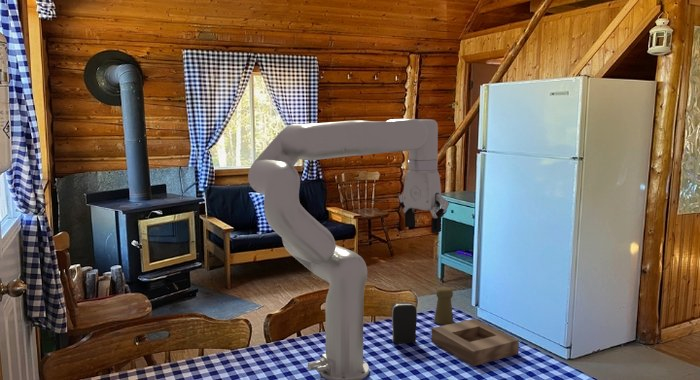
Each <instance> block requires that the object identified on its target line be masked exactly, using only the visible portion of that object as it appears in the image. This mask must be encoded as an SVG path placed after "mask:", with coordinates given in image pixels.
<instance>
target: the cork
mask: <svg viewBox="0 0 700 380" xmlns="http://www.w3.org/2000/svg"><path fill="white" fill-rule="evenodd" d="M435 293H436V294H435V295H436V298H437V301H436V308H435V314H434V319H433V320H434V323H435V324H438V325H440V326H444V325H449V324H453V323H454V315H453V307H452V298H453V295H454V292H453V289H451V287H447V286H440V287H438V288H437V289H436V291H435Z"/></svg>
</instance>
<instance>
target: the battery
mask: <svg viewBox="0 0 700 380" xmlns="http://www.w3.org/2000/svg"><path fill="white" fill-rule="evenodd" d="M417 316H418V313H417V307H416V305H415V304H414V303H413V302H407V301H406V302H403V301H402V302H395V303H394V304H393V305H392V307H391V321H392V343H393V344H414V343H416V342H417V341H416V340H417V320H418V318H417Z"/></svg>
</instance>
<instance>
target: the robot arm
mask: <svg viewBox="0 0 700 380" xmlns="http://www.w3.org/2000/svg"><path fill="white" fill-rule="evenodd" d="M438 131H439V125H438V122H437V121H436V120H435V119H428V118H427V119H425V118H424V119H417V118H393V119H392V118H391V119H388V120H386V121H385V120H384V121H382V120H381V121H376V120H374V121H372V120H371V121H370V120H344V121H343V120H342V121H329V122H319V123H317V122H316V123H293V124H290V125H287V126H286V127H284V128H283V129H282V130H280V132H279V133H278V134H277V135H276V136H275V137H274V138H273V139H272V141H271V142H270V143H269V144H268V145H267V147H266V148H264V150H263V151H262V152H261V153H260V154H259V156H258V157H257V158H256V159H255V160H254V161H253V163H252V164H251V166H250V168H249V170H248V175H247V178H248V182H249V185H250V187H251V188H252V189H253V191H255V192H256V193H258V194H261V195H264V199H263V208H264V209H263V210H264V217H265V219H266V222H267V223H268V225H269V226H270V228H271V230H273V231H274V232H275V233H276V234H277V236H279V237H281V241H282V244H283V247H284V248H285V250H286V251H287V253H289V255H291V256H292V257H293V258H295V260H297V261H298V262H299V263H300V264H302V265H303V266H304V267H305V268H307V270H309V271H310V272H311V273H312V274H313V275H315V276H316V277H317V278H320V279H321V280H323V281H325V282H327V283H328V284H329V288H328V291H327V294H326V297H325V306H324V307H325V308H324V309H325V310H324V311H325V353H323V354H321V358H319V359H318V360H314V361H310V362H307V370H308V371H313V370H316V372H317V373H319V374H320V376H321V377H323V379H326V380H364V379H365V378H366V377H367V376H368V375H369V373H370V366H369V364H368V363H367V362H366V361H365V360H364V297H365V288H366V283H367V278H368V267H367V264H366V261H365V260H364V258H363V257H362V256H361V255H359V254H358V253H357V252H355V251H353V250H352V249H351V250H350V249H348V248H345V247H342V246H339V245H337V243H336V240H335V238H334V236H333V234H332V233H331V231H330V230H329V229H328V228H327V227H326V226H325V225H323V224H322V223H320V221H318V220H317V219H316V218H315V217H314V216H312V215H311V214H310V213H309V212H308V211H307V210H306V209H305V207H303V205H302V204H301V203H300V186H301V178H300V175H299V173H298V170H297V169H296V168H295V165H296V164H297V162H298V161H299V160H302V161H303V160H304V161H316V160H325V159H326V160H327V159H334V158H342V157H343V158H345V157H353V156H368V155H374V154H387V153H388V154H389V153H398V152H407V151H408V161H407V163H406V164H407V165H408V170H406V174H405V178H404V184H403V185H404V186H403V193H401V194H399V195H398V199H399V202H400V207H401V209H402V211H403V213H404V227H405V228H412V227H415V225H416V224H415V223H416V222H415V220H416V219H415V217H416V216H415V211H414V210H420V211H429V212H430V214H431V216H432V218H431V221H430V222H431V225H430V229H431V230H430V231H431V233H432V234H436V233H441V232H442V218H443V217H444V215H445V214H446V213H447V211H448V209H449V206H450V202H449V201H448V200H447V199H446V198H445V197H443V196H442V185H441V184H442V183H441V178H440V173H439V171H438V145H439V141H438V139H439V137H438V135H439V132H438Z"/></svg>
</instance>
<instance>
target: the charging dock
mask: <svg viewBox="0 0 700 380" xmlns="http://www.w3.org/2000/svg"><path fill="white" fill-rule="evenodd" d="M431 342H432V343H434V344H435V345H437V346H439V347H440V348H442V349H444V351H447V352H449V353H450V354H452V355H454V356H455V357H457V358H458V359H460V360H462V361H464V362H465V363H467V365H470V366H472V367H475V366H479V365H482V364H487V363H491V362H494V361H497V360H501V359H505V358H508V357H512V356H516V355H518V354H519V348H520V347H519V346H520V344H519V343H520V340H519V339H518V338H516V337H514V336H512V335H509V334H507V333H506V332H503V331H501V330H499V329H496V328H494V327H492V325H491V326H490V325H489V324H487V323H485V322H483V321H480V320H479V319H476V318H471V319H469V320H468V319H467V320H463V321H459V322H458V321H457V322H453V323H452V324H449V325H440V326H435V327H432V328H431Z"/></svg>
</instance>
